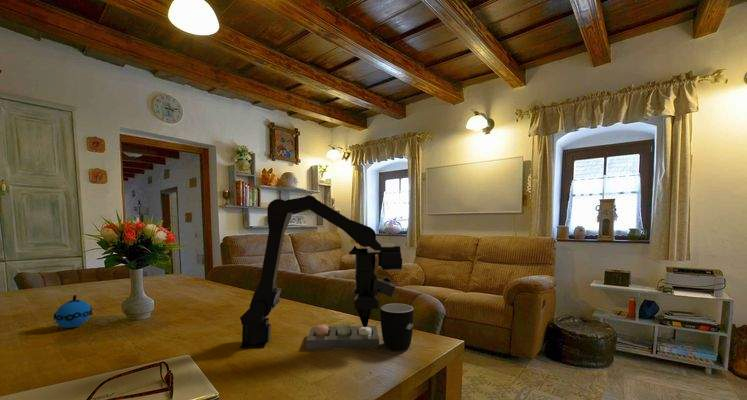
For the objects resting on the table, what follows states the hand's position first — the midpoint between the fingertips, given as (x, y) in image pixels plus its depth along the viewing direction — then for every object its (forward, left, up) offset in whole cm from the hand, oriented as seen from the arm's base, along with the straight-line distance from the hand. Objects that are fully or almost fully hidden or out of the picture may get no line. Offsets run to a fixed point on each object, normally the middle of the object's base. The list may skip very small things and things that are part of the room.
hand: (365, 326), depth 87 cm
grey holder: (-6, 0, -4) cm, 7 cm away
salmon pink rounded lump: (-12, 0, -2) cm, 12 cm away
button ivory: (0, 0, -3) cm, 3 cm away
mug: (+9, -3, -4) cm, 10 cm away
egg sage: (-6, 0, -2) cm, 6 cm away
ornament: (-92, +17, -4) cm, 94 cm away
